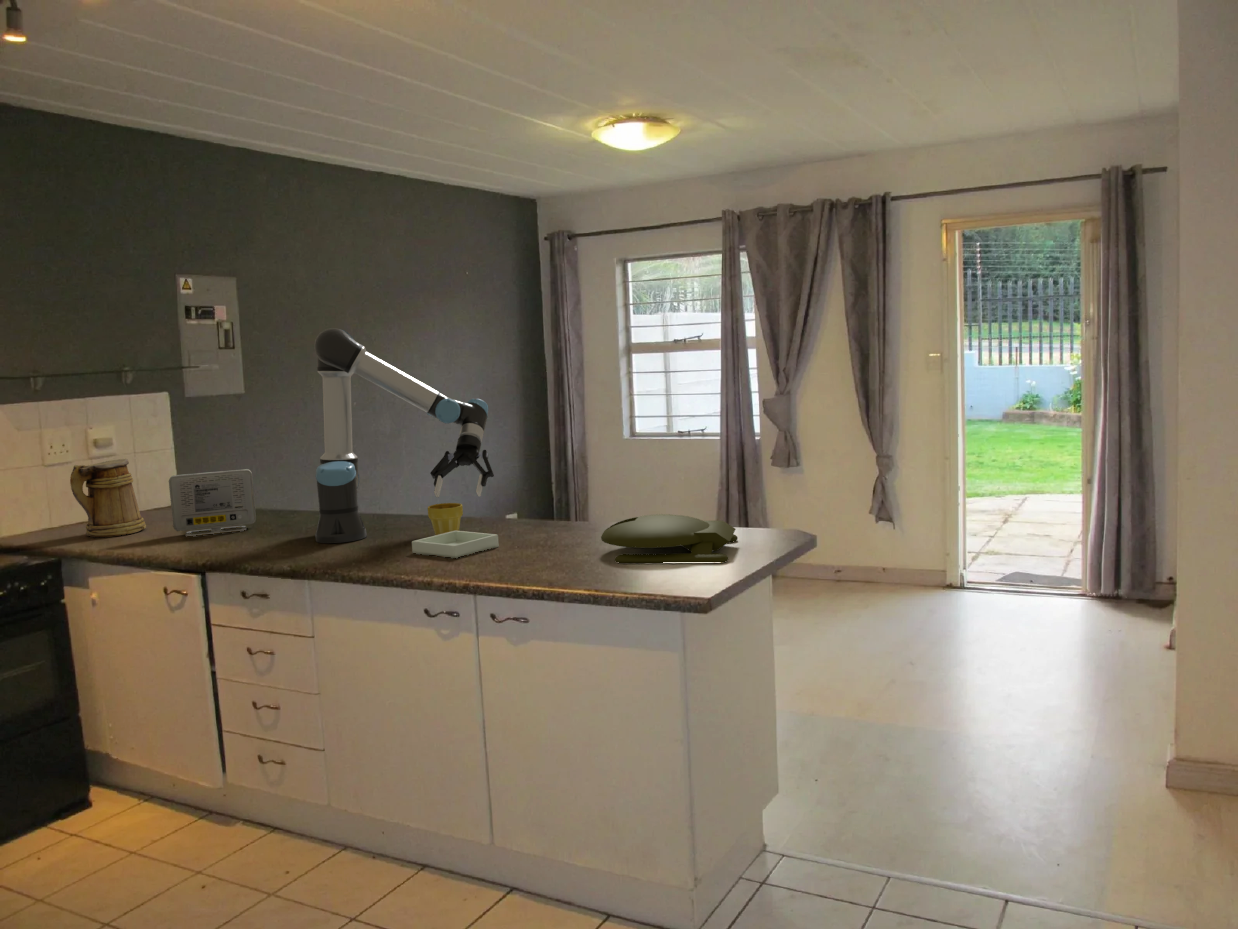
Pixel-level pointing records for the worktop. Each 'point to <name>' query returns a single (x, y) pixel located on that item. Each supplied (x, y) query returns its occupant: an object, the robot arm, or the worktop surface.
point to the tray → (455, 544)
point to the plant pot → (445, 517)
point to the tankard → (107, 498)
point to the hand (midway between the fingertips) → (457, 494)
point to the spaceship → (670, 538)
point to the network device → (212, 501)
